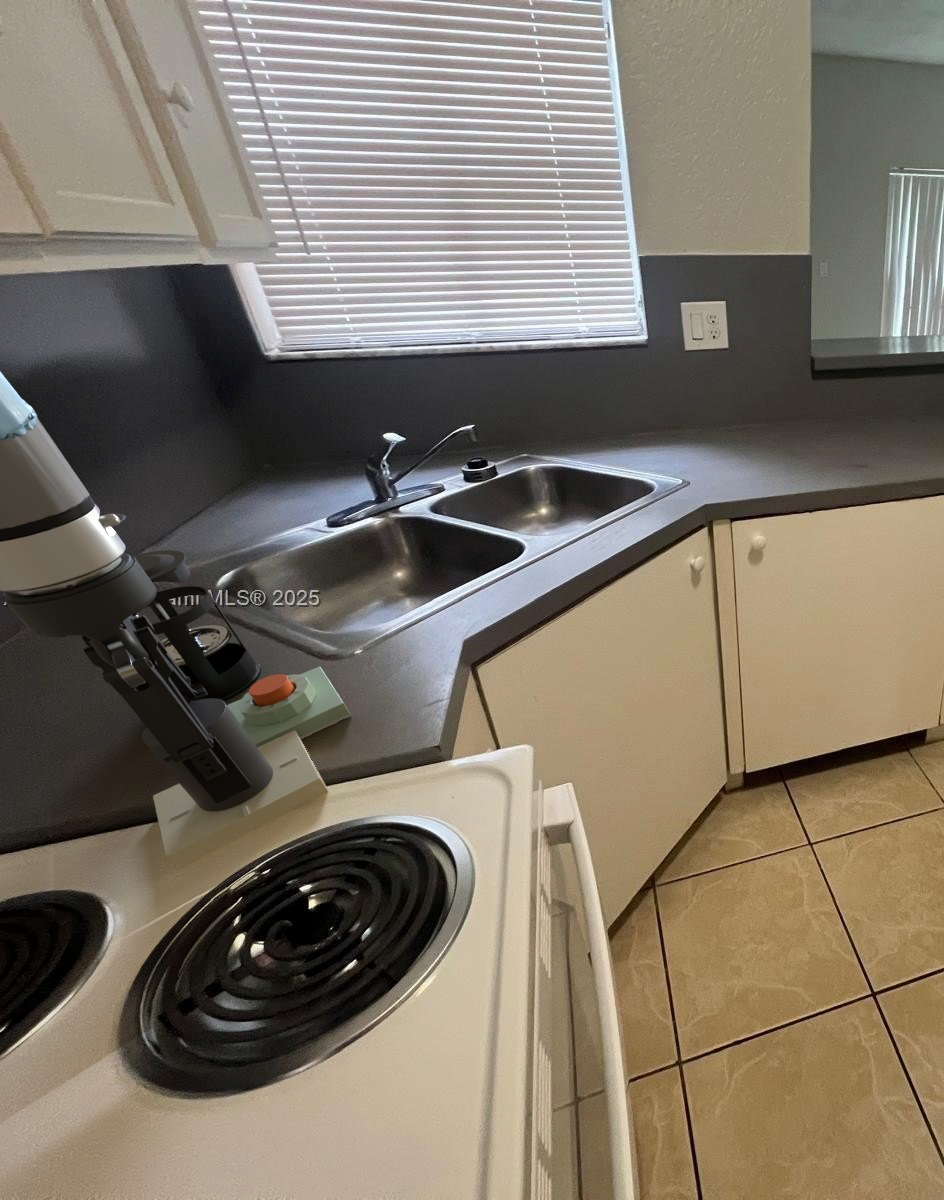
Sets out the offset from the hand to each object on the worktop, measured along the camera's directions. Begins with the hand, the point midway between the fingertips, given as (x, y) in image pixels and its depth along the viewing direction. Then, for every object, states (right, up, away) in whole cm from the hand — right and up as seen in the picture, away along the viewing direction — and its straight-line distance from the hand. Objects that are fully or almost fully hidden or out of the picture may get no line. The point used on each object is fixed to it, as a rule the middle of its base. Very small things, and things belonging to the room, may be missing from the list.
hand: (226, 773), depth 61 cm
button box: (-3, +3, +12) cm, 13 cm away
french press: (-18, +6, +18) cm, 26 cm away
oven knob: (0, -2, +1) cm, 2 cm away
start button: (-3, +6, +10) cm, 12 cm away
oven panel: (0, -3, +2) cm, 4 cm away
